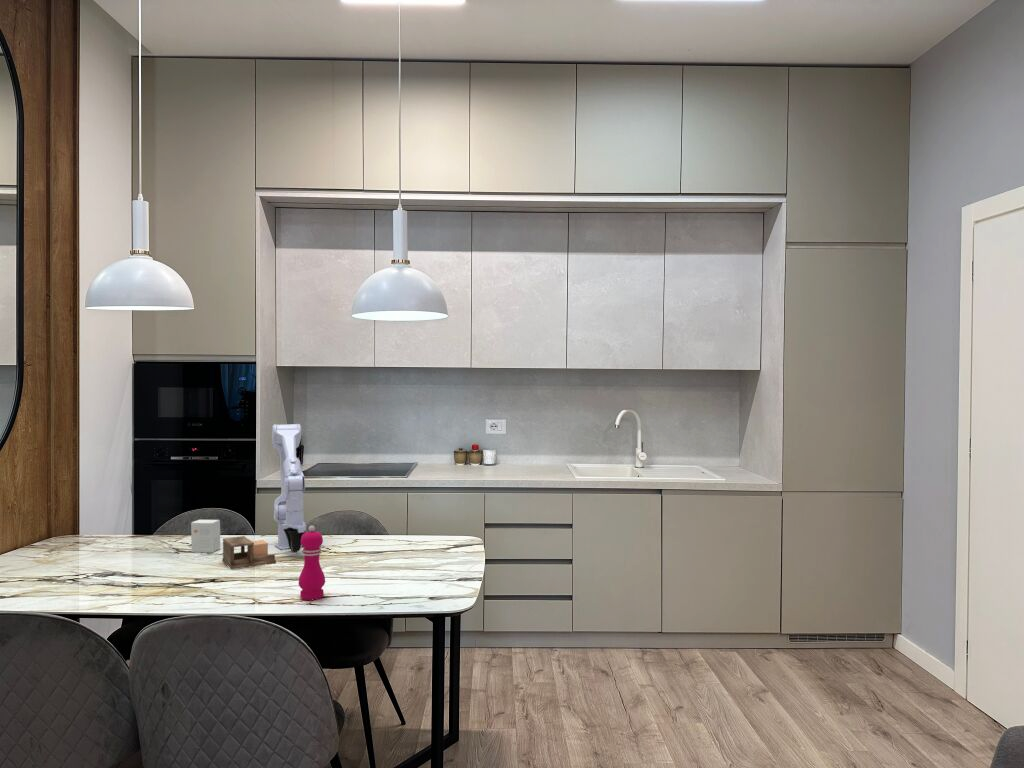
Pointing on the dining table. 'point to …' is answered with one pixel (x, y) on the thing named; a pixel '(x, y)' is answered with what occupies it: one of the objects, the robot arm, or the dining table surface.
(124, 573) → the dining table surface
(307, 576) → the pepper mill
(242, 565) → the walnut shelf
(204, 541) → the small box
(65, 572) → the dining table surface
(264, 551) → the tan piece
